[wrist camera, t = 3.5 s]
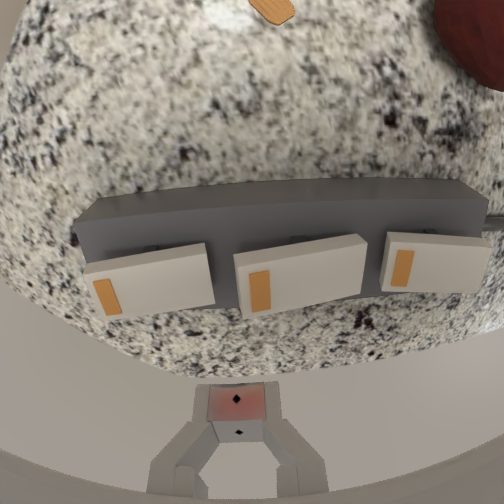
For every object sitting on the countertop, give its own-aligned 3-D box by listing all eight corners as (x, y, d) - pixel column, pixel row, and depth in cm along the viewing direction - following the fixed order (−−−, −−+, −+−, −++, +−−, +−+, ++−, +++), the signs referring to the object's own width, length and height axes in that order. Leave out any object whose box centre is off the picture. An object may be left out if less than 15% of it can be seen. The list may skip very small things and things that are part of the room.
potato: (430, 87, 16) (484, 96, 11) (403, -22, 12) (450, -44, 7) (499, 87, 15) (552, 100, 10) (479, -9, 11) (529, -16, 6)
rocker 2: (356, 233, 17) (368, 244, 16) (351, 282, 19) (361, 294, 17) (233, 254, 16) (238, 268, 15) (239, 305, 18) (244, 321, 16)
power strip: (533, 185, 19) (567, 208, 15) (516, 250, 23) (544, 277, 18) (98, 198, 20) (65, 230, 16) (122, 278, 24) (101, 319, 20)
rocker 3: (485, 238, 15) (493, 249, 14) (471, 282, 17) (478, 294, 16) (387, 231, 17) (391, 243, 16) (379, 279, 18) (381, 292, 17)
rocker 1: (204, 242, 17) (206, 254, 16) (212, 291, 19) (215, 305, 18) (87, 263, 16) (81, 276, 15) (105, 308, 18) (101, 323, 17)
